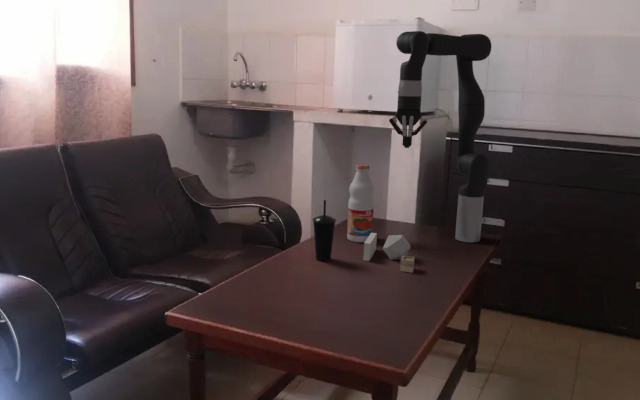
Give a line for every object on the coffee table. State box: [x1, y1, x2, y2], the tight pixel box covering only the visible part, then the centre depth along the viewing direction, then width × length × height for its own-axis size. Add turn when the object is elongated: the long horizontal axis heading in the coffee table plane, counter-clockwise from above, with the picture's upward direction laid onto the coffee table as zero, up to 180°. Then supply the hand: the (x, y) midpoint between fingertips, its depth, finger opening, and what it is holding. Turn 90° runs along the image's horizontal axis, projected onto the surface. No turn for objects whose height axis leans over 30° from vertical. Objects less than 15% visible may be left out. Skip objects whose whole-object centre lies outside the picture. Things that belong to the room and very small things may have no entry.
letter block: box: [399, 255, 415, 274], centre depth 195 cm, size 4×4×4 cm
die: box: [382, 234, 412, 261], centre depth 206 cm, size 8×9×10 cm
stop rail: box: [362, 232, 378, 262], centre depth 209 cm, size 14×2×6 cm, turn 166°
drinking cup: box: [312, 199, 337, 262], centre depth 201 cm, size 8×8×20 cm
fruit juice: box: [346, 163, 375, 243], centre depth 225 cm, size 9×9×28 cm
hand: (406, 147), depth 203 cm, fingers closed
